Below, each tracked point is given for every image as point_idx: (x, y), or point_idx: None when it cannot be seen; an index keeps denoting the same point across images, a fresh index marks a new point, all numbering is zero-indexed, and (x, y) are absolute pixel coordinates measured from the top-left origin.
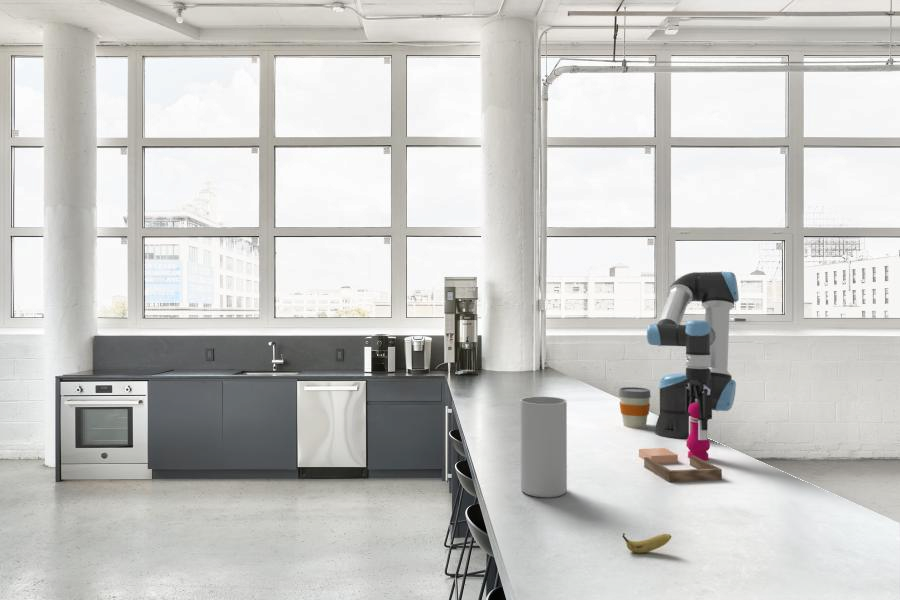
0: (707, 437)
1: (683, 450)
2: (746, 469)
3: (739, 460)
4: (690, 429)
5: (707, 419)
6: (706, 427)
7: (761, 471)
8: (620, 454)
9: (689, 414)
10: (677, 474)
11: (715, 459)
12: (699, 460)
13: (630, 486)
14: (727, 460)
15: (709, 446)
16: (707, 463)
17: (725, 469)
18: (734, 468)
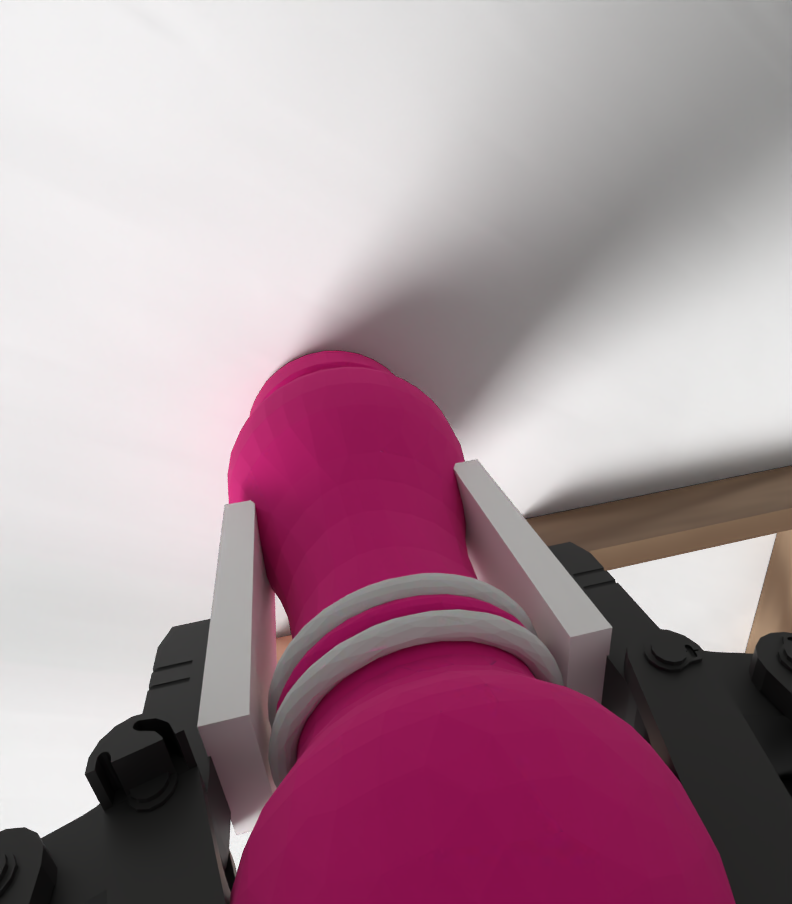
0: (407, 436)
1: (44, 467)
2: (700, 168)
3: (429, 46)
4: (274, 636)
5: (731, 674)
6: (598, 577)
7: (783, 56)
8: (243, 844)
9: (232, 863)
10: None
11: (379, 294)
12: (668, 555)
13: None
14: (420, 189)
15: (423, 394)
16: (745, 529)
17: (655, 345)
18: (651, 260)
